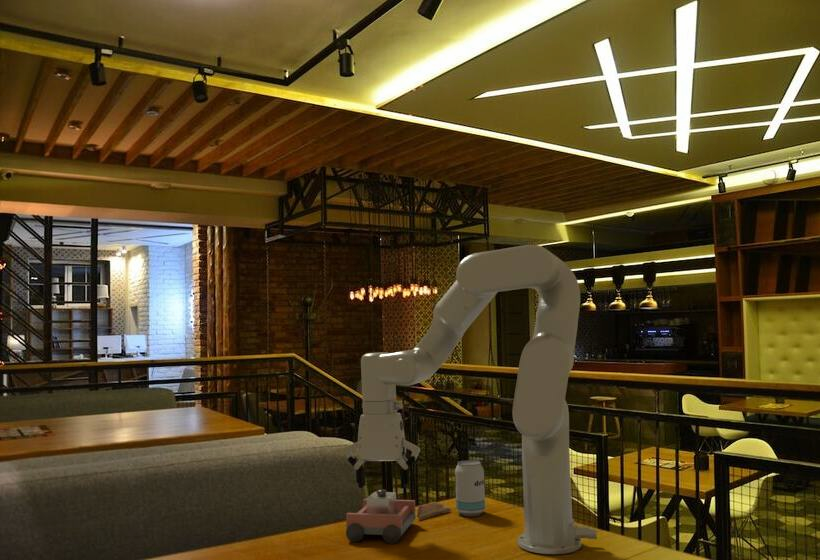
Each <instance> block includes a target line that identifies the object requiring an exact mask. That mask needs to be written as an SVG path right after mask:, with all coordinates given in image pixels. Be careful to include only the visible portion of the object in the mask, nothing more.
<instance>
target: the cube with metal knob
mask: <svg viewBox="0 0 820 560" xmlns="http://www.w3.org/2000/svg"><path fill="white" fill-rule="evenodd" d="M365 499H366V500H367V513H370V514H397V508H396V500H397V492H394V491H393V492H392V491H387V490H386V489H377V490H376V491H374V492H372V493H371V494H370V495H369V496H367V497H366V498H365Z"/></svg>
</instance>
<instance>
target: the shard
mask: <svg viewBox="0 0 820 560" xmlns="http://www.w3.org/2000/svg"><path fill="white" fill-rule="evenodd" d="M419 506H420V507H419ZM450 511H452V509H451V508H450V507H448V505H445V504H443V503H440V502H436V501H435V502H434V501H433V502H429V503H425V504H420V505H418V506H417V516H416V517H417V520H418V521H421V520H425V519H428V518H431V516H432V517H435V516H438V515H437V514H439V515H442V514H441V513H443V514H446V513H447V512H448V513H450ZM434 515H435V516H434Z"/></svg>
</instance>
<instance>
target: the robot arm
mask: <svg viewBox="0 0 820 560" xmlns="http://www.w3.org/2000/svg"><path fill="white" fill-rule="evenodd" d="M455 277H456V280H455V281H454V283H452V285H451V286H450V287H449V289H447V290H446V292H445V293H444V295H443V296H442V297H441V298H440V300H439V301H437V303H436V304H435V306H434V307H433V308H434V309H433V315H432V316H433V317H432V322H431V325H430V327H429V329H428V330H427V332H426V333H425V334H424V336H423V337H422V338H421V339H420V341H418V343H417V344H416V345H415V346H414V348H413V349H408V350H402V351H396V352H391V353H390V352H387V351H385V352H384V351H382V352H381V351H380V352H368V353H365V354H363V355H362V356H361V359H360V368H361V369H360V371H361V373H360V374H361V398H362V414H361V415H360V417H359V424H358V432H357V441H355V442H354V443H352V444H350V445H349V446H347V447H346V448H344V449H343V453H344V454H345V456H346V457H345V458H347V461H348V463H350V464H351V466H353V468H354V470H355V474H356V476H355V477H356V478H355V479H356V480H355V481H356V484H358V489H362V488H364V487H365V486H366V484H367V480H366V479H367V477H366V467H365V466H364V464H365V463H366V462H394V461H396V462H397V463H398V465H399V466H401V469H399V470H400V471H399V472H400V488H401V489H405V488H407V487H408V484H410V467H411V466H412V465H413V464H414V462H416V461H417V458H418V456H419V454H420V451H421V447H419V446H418V445H416V444H414V443H412V442H410V441H408V440H406V436H405V434H406V433H405V429H404V423H403V419H402V418H403V417H402V414H401V413H400V412H398V410H400V409H403V408H404V404H403V402H399V401H398V398H397V391H396V390H397V388H396V386H413V385H415V384H416V385H417V384H419V383H424V382H426V381H428V380H429V379H430V378H431V377H433V376H434V374H435V373H436V372H437V371H439V369H440V368H441V366H442V365H443V364H444V362H446V360H447V359H448V358H449V357H450V356H451V354H452V353H453V351H454V350H455V348H456V347H457V345H458V344H459V342H460V341H461V340H462V338H463V337H464V334H465V333H466V331H467V330H468V329H469V328H470V326H471V325H472V324H473V322H474V321H475V320H476V319H477V318H478V317H479V315H480V314H481V313H482V312H483V311H484V309H485V308H486V307H487V306H488V305H489V303H490V302H491V301H492V300H493V299H494V297H495V296H497V294H498V292H507V291H513V290H522V289H532V290H535V291H536V292H537V295H538V305H537V309H536V312H535V313H536V314H535V324H534V330H533V335H532V339H530V340H529V341H528V342H527V343H526V344H525V345H524V348H523V349H522V352H521V354H520V359H519V365H518V369H517V375H516V376H517V377H516V378H517V379H516V383H515V384H516V385H515V389H514V390H515V391H514V398H513V403H512V415H511V416H512V420H513V424H514V426H515V428H516V429H517V431H518V433H520V434H521V461H522V462H521V463H522V464H521V465H522V468H521V469H522V491H523V492H522V493H523V511H524V513H523V515H524V518H523V519H524V532H523V533H521V534H520V535H518V537H517V545H518V547H520V548H521V549H523V550H525V551H528V552H530V553H535V554H540V555H564V554H569V553H574V552H577V551H578V550H580V549H581V548H582V539H588V540H597V539H598V537H597V529H596V528H590V526H578V524H575V519H574V518H573V506H572V503H573V502H572V482H571V480H572V479H571V459H570V458H571V457H570V412H569V405H568V403H567V401H566V395H567V394H566V393H567V389H568V381H569V374H570V372H571V371H572V369H573V367H574V362H575V348H576V340H577V333H578V323H579V317H580V316H579V314H580V307H581V290H580V285H579V282H578V279H577V276H576V275H575V273H574V272H573V270H572V269H571V268H570V267H569V266H568V265H567V263H566V262H564V261H563V260H562V259H561V258H559V257H557V256H556V255H555V254H554V253H552V252H551V251H549V250H548V249H547V248H545V247H543V246H540V245H537V244H527V245H525V244H524V245H519V246H512V247H506V248H501V249H493V250H486V251H481V252H474V253H471V254H469V255H466V256H465V257H464V258H463V259H462V260H461V261H460V262H459V264H458V266H457V267H456V273H455ZM355 450H357V456H358V458H357V457H356V456H354V453H353V451H355ZM407 450H409V451H411V454H410V457H409V458H407V457H406V454H407Z"/></svg>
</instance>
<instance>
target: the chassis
mask: <svg viewBox="0 0 820 560" xmlns="http://www.w3.org/2000/svg"><path fill="white" fill-rule="evenodd" d="M362 500H363V501H362V505H363V507H362V508H361V509H360V510H358V512H347V513H346V514H345V517H346V518H345V520H346V521H345V523H346V526H345V527H346V531H345V535H346V538H347V539H348V541H350V542H351V543H358V542H360V540H362V539H363V537H364V535H374V536H375V535H378V536H382V539H383V540H384V542H385V543H387V544H389V545H394V544H396V543H397V542H398V541H399V540H400V539H401V537H402V536H403V534H404V533H405V532H406V531H407V529H408V528H409V527H410V526H411V525H412V524H413V522H414V521H415V520H416V517H417V516H416V500H415V499H396V508H397V514H370V513H367V500H366V498H364V499H362Z"/></svg>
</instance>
